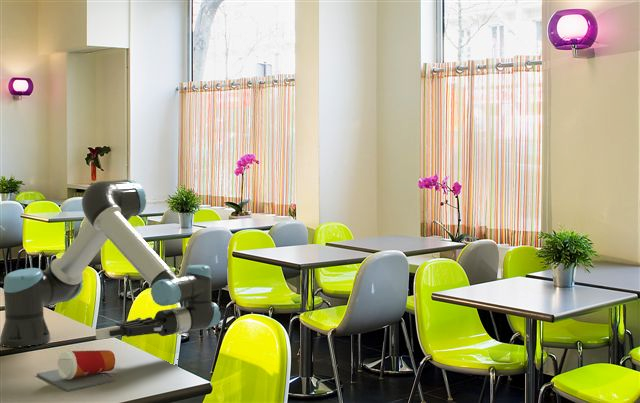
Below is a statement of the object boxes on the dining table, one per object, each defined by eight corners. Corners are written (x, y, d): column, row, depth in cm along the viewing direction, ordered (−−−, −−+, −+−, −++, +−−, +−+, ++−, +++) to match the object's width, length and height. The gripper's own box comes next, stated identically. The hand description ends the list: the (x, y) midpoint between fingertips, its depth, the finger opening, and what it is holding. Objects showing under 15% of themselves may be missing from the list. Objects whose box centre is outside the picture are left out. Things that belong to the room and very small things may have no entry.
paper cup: (99, 369, 217) (54, 374, 206) (104, 342, 216) (58, 346, 206) (115, 378, 212) (69, 384, 201) (120, 351, 211) (74, 355, 201)
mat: (37, 375, 212) (36, 373, 212) (82, 366, 221) (81, 364, 221) (67, 391, 197) (67, 389, 197) (114, 381, 206) (114, 378, 206)
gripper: (183, 337, 223) (108, 352, 208) (160, 330, 233) (86, 344, 217) (183, 312, 223) (107, 324, 207) (160, 306, 233) (86, 317, 217)
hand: (97, 334), depth 212 cm, fingers closed
